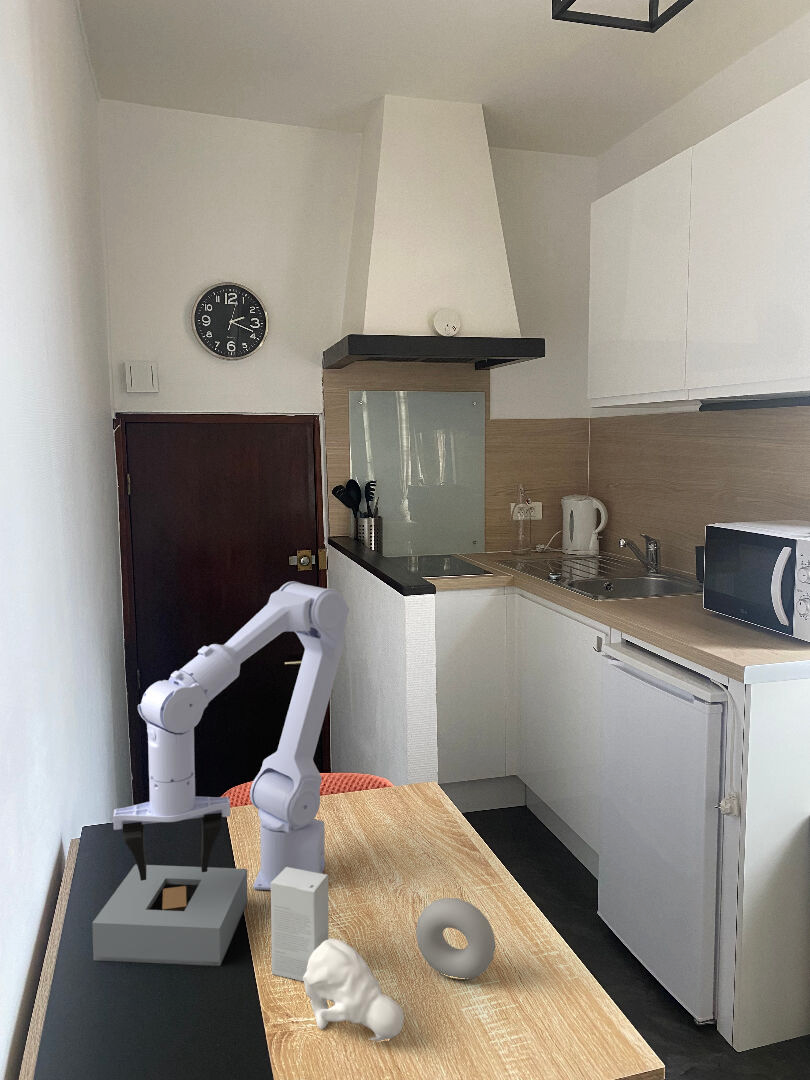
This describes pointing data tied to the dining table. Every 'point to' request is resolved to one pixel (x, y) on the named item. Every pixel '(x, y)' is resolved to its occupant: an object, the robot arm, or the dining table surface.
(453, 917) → the donut
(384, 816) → the dining table surface
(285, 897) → the skincare box
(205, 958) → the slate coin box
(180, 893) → the brown wooden block
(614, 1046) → the dining table surface
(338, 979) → the white animal sculpture
